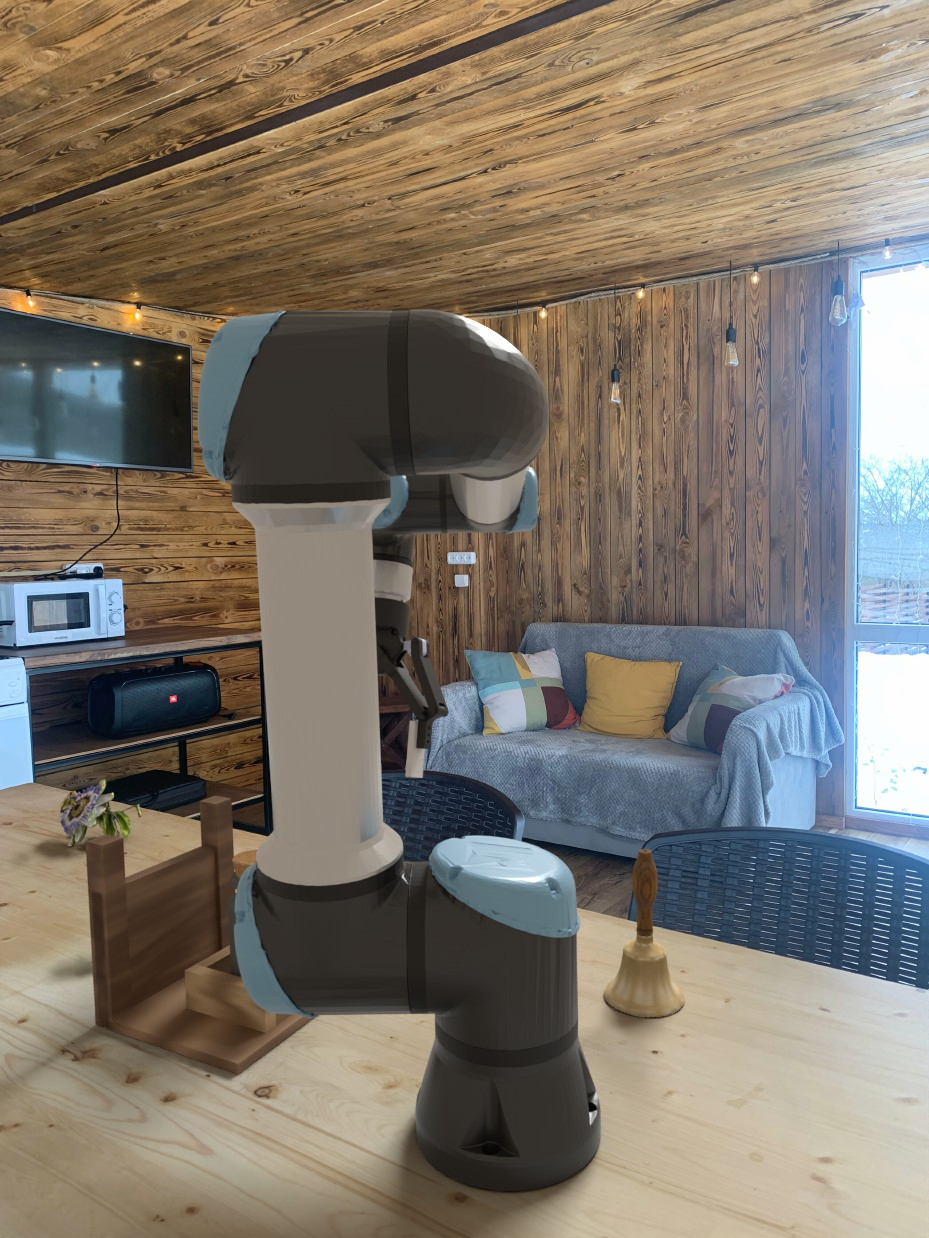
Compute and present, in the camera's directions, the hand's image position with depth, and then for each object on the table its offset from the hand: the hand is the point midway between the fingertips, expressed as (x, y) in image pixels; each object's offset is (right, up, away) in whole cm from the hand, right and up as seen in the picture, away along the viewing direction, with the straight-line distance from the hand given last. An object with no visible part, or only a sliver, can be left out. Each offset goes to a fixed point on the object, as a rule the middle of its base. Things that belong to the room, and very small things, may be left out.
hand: (365, 774), depth 110 cm
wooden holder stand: (-12, -22, -15) cm, 29 cm away
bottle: (-9, -21, -14) cm, 27 cm away
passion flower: (-48, -18, +41) cm, 65 cm away
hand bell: (+31, -21, -14) cm, 40 cm away
